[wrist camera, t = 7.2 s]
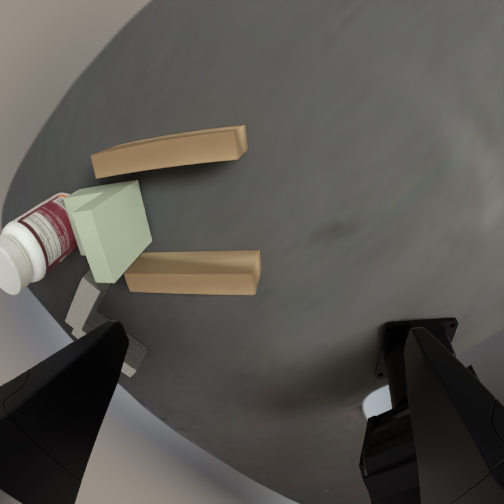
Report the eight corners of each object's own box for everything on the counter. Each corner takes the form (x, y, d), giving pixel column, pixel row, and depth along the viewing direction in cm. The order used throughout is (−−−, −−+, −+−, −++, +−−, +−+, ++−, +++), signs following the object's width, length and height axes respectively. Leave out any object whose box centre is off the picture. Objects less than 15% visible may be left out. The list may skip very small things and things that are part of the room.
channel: (261, 269, 22) (254, 294, 19) (147, 269, 24) (129, 291, 21) (245, 124, 17) (234, 130, 15) (116, 145, 19) (90, 155, 17)
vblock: (152, 357, 29) (141, 379, 26) (104, 349, 30) (91, 369, 28) (114, 257, 24) (94, 277, 21) (63, 258, 25) (43, 275, 22)
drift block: (152, 240, 22) (114, 283, 17) (95, 243, 23) (54, 280, 18) (137, 179, 20) (91, 210, 15) (79, 189, 21) (31, 218, 16)
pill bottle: (59, 244, 24) (-2, 297, 17) (44, 194, 22) (-27, 239, 15) (97, 243, 23) (33, 304, 16) (82, 188, 21) (5, 237, 14)
